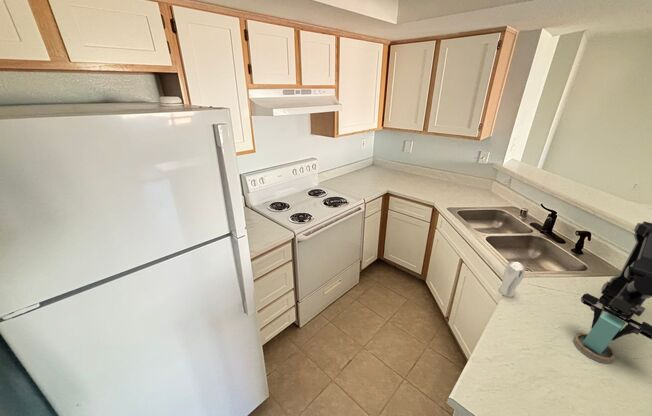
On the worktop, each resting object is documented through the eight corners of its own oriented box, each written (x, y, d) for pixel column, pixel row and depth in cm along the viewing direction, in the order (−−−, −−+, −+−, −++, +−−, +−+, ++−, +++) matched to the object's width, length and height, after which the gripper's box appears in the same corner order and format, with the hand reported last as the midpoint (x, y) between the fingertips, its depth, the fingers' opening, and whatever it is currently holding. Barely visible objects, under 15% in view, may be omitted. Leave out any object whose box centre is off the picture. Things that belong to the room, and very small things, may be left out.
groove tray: (595, 338, 98) (598, 334, 97) (621, 365, 89) (624, 361, 88) (565, 335, 99) (567, 331, 98) (588, 361, 89) (591, 357, 89)
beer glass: (495, 292, 119) (505, 265, 113) (499, 285, 124) (509, 259, 118) (512, 300, 115) (524, 273, 109) (516, 292, 120) (528, 266, 113)
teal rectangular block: (588, 337, 96) (606, 311, 90) (606, 348, 92) (626, 322, 87) (582, 342, 94) (600, 317, 88) (600, 354, 90) (620, 328, 84)
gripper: (595, 275, 92) (568, 309, 92) (676, 311, 78) (644, 352, 77) (594, 285, 99) (569, 317, 99) (669, 320, 84) (639, 358, 84)
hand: (601, 334), depth 90 cm, fingers closed on teal rectangular block, 5 cm apart
